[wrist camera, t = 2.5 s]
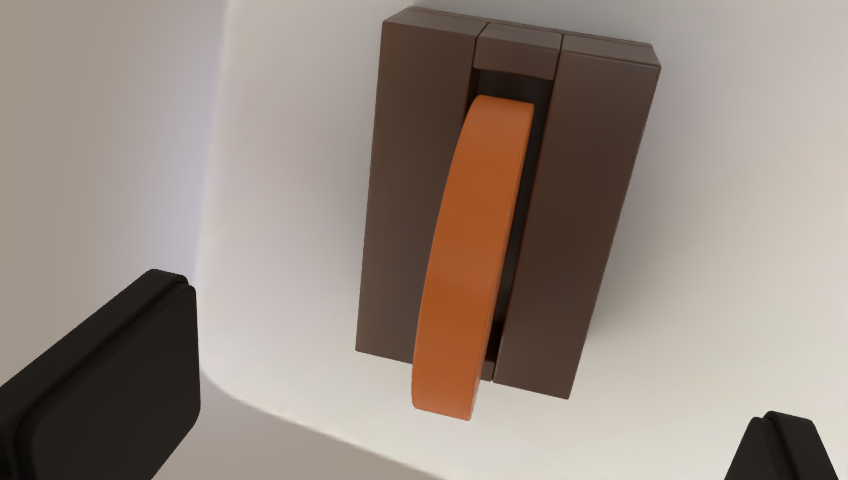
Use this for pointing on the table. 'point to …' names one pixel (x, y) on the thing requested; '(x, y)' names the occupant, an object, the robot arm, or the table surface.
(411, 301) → the holder
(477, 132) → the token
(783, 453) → the robot arm
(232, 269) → the table surface
